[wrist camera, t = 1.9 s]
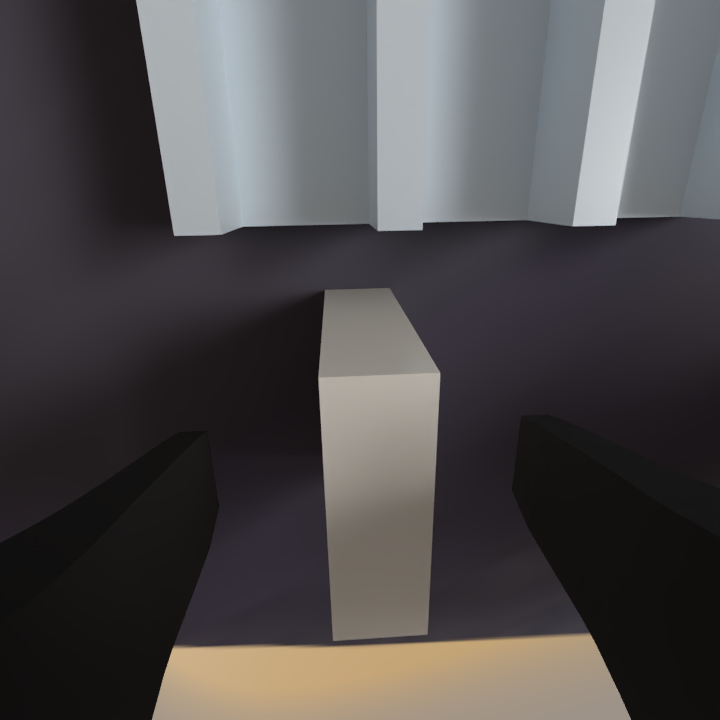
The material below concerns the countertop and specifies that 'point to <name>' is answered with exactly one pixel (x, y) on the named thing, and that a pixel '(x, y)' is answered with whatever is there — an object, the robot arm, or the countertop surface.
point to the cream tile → (377, 464)
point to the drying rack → (434, 111)
